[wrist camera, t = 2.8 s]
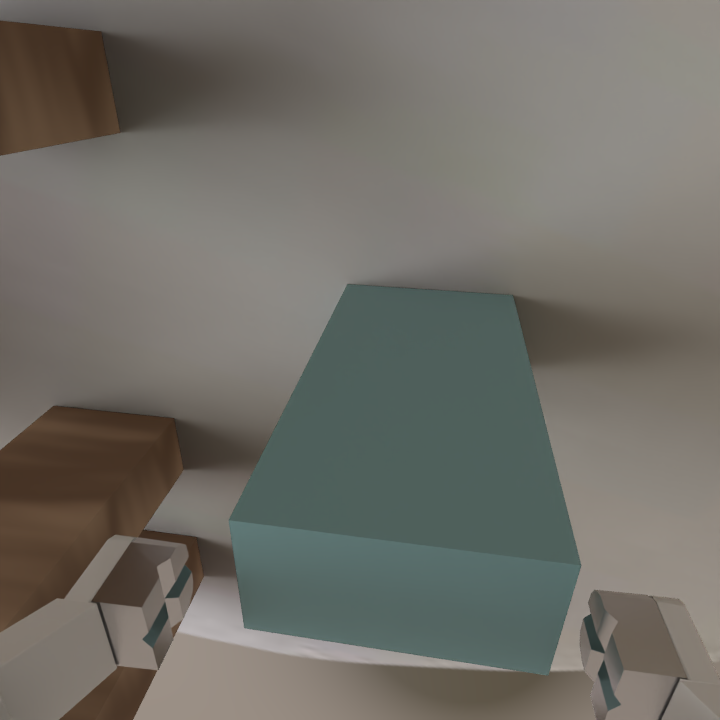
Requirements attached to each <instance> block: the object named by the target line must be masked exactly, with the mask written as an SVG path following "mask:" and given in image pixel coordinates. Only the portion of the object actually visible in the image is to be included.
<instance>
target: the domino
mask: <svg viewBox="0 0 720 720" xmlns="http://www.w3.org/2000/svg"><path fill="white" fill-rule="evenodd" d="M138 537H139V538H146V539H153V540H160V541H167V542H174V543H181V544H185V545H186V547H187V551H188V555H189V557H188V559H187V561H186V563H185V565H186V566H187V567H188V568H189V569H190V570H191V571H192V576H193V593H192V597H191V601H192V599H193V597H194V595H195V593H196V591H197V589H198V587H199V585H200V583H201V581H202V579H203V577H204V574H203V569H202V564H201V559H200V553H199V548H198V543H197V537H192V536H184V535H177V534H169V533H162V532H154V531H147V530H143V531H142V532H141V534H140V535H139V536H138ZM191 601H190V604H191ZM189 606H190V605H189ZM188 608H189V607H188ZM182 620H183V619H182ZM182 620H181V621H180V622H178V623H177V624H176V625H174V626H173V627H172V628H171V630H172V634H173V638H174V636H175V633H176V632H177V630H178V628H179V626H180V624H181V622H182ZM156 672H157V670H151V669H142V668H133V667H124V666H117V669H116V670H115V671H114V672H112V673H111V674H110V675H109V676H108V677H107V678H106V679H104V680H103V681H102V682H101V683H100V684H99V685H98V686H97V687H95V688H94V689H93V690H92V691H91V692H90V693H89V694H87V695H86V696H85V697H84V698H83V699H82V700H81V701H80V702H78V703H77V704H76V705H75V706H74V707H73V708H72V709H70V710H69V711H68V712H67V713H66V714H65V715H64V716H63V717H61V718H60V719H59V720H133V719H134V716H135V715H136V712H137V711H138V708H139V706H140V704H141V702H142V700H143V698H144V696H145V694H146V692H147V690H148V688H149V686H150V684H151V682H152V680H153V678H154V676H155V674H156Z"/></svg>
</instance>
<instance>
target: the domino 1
mask: <svg viewBox="0 0 720 720" xmlns="http://www.w3.org/2000/svg"><path fill="white" fill-rule="evenodd" d="M117 133H120V129H119V123H118V118H117V113H116V107H115V102H114V97H113V92H112V86H111V81H110V76H109V70H108V65H107V60H106V54H105V49H104V44H103V38H102V33H101V31H92V30H83V29H74V28H64V27H55V26H45V25H36V24H27V23H17V22H8V21H0V156H1V155H6V154H11V153H16V152H22V151H27V150H32V149H38V148H43V147H48V146H53V145H59V144H64V143H69V142H74V141H80V140H85V139H90V138H95V137H101V136H106V135H111V134H117Z"/></svg>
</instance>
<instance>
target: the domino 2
mask: <svg viewBox="0 0 720 720" xmlns="http://www.w3.org/2000/svg"><path fill="white" fill-rule="evenodd" d="M183 470H184V469H183V463H182V458H181V453H180V447H179V442H178V437H177V431H176V426H175V421H174V418H165V417H156V416H146V415H136V414H127V413H117V412H108V411H98V410H89V409H79V408H69V407H60V406H53V407H52V408H50V409H49V410H48V411H47V412H46V413H44V414H43V415H42V416H41V417H40V418H38V419H37V420H36V421H35V422H34V423H32V424H31V425H30V426H29V427H28V428H26V429H25V430H24V431H23V432H22V433H20V434H19V435H18V436H17V437H16V438H14V439H13V440H12V441H11V442H10V443H8V444H7V445H6V446H5V447H4V448H2V449H1V450H0V632H2V631H4V630H5V629H7V628H9V627H10V626H12V625H14V624H15V623H17V622H19V621H20V620H22V619H24V618H25V617H27V616H29V615H30V614H32V613H34V612H35V611H37V610H38V609H40V608H42V607H43V606H45V605H47V604H48V603H50V602H52V601H53V600H55V599H57V598H59V599H64V598H65V597H66V596H67V594H68V593H69V591H70V590H71V589H72V587H73V586H74V585H75V583H76V582H77V581H78V579H79V578H80V577H81V575H82V574H83V572H84V571H85V570H86V568H87V567H88V566H89V564H90V563H91V562H92V560H93V559H94V558H95V556H96V555H97V553H98V552H99V551H100V549H101V548H102V547H103V545H104V544H105V543H106V541H107V540H108V539H109V538H111V537H112V536H114V535H122V536H130V537H138V536H139V535H140V534H141V532H142V531H143V529H144V528H145V526H146V525H147V523H148V522H149V520H150V519H151V517H152V516H153V514H154V513H155V511H156V510H157V509H158V507H159V506H160V504H161V503H162V501H163V500H164V498H165V497H166V495H167V494H168V492H169V491H170V489H171V488H172V486H173V485H174V484H175V482H176V481H177V479H178V478H179V476H180V475H181V473H182V472H183Z"/></svg>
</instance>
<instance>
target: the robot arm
mask: <svg viewBox="0 0 720 720" xmlns="http://www.w3.org/2000/svg"><path fill="white" fill-rule="evenodd" d="M188 557H189V555H188V551H187V547H186V545H185V544H181V543H174V542H167V541H160V540H153V539H146V538H139V537H130V536H122V535H114V536H112V537H111V538H109V539H108V540H107V541H106V543H105V544H104V545H103V547H102V548H101V549H100V551H99V552H98V553H97V555H96V556H95V558H94V559H93V560H92V562H91V563H90V564H89V566H88V567H87V568H86V570H85V571H84V572H83V574H82V575H81V577H80V578H79V579H78V581H77V582H76V583H75V585H74V586H73V587H72V589H71V590H70V591H69V593H68V594H67V596H66V597H65V598H64V599H59V598H57V599H55V600H53V601H52V602H50V603H48V604H47V605H45V606H43V607H42V608H40V609H38V610H37V611H35V612H34V613H32V614H30V615H29V616H27V617H25V618H24V619H22V620H20V621H19V622H17V623H15V624H14V625H12V626H10V627H9V628H7V629H5V630H4V631H2V632H0V720H59V719H60V718H61V717H63V716H64V715H65V714H66V713H67V712H68V711H69V710H70V709H72V708H73V707H74V706H75V705H76V704H77V703H78V702H80V701H81V700H82V699H83V698H84V697H85V696H86V695H87V694H89V693H90V692H91V691H92V690H93V689H94V688H95V687H97V686H98V685H99V684H100V683H101V682H102V681H103V680H104V679H106V678H107V677H108V676H109V675H110V674H111V673H112V672H114V671H115V670H116V669H117V666H124V667H133V668H142V669H151V670H159V668H160V666H161V664H162V662H163V660H164V657H165V656H166V653H167V651H168V649H169V647H170V645H171V643H172V641H173V634H172V630H171V628H172V627H173V626H174V625H176V624H177V623H178V622H180V621H181V620H182V619H183V618H184V616H185V614H186V612H187V610H188V607H189V605H190V601H191V597H192V593H193V576H192V571H191V570H190V569H189V568H188V567H187V566H186V565H185V563H186V561H187V559H188ZM588 604H589V608H590V612H591V614H590V615H588V616H587V617H585V618H583V622H582V626H581V630H580V651H581V659H582V663H583V667H584V671H585V672H586V674H587V675H588V676H589V677H590V678H591V679H592V680H593V682H594V686H593V689H592V692H591V695H590V696H591V700H592V704H593V708H594V712H595V716H596V720H720V678H719V676H718V673H717V671H716V669H715V668H714V665H713V663H712V661H711V659H710V657H709V655H708V652H707V650H706V648H705V646H704V644H703V642H702V640H701V638H700V636H699V634H698V632H697V629H696V627H695V625H694V623H693V621H692V619H691V617H690V615H689V613H688V611H687V609H686V606H685V604H684V603H683V602H682V601H681V600H680V599H675V598H666V597H657V596H648V595H642V594H632V593H622V592H612V591H603V590H594V591H593V592H592V593H591V595H590V598H589V601H588Z"/></svg>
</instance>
